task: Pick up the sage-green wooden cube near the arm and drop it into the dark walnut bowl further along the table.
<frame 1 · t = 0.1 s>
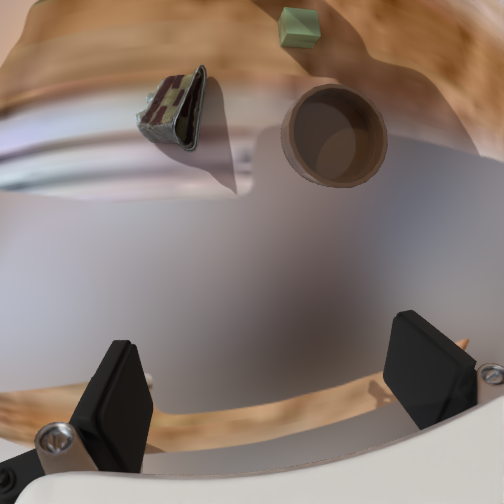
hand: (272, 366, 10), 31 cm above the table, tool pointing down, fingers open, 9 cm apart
bowl: (327, 138, 38), on the table
green cube: (294, 34, 34), on the table
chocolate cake: (173, 108, 35), on the table
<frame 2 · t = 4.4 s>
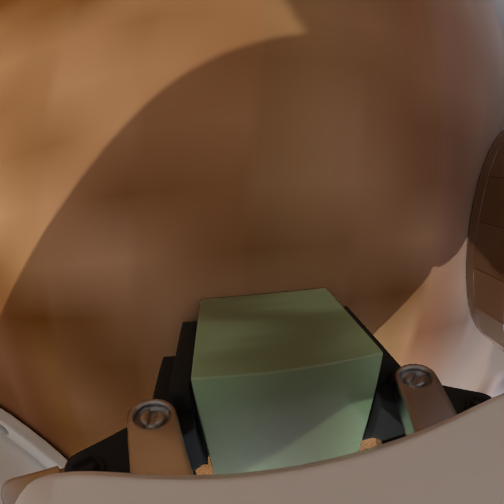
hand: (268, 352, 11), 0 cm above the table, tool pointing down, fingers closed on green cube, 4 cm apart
green cube: (266, 347, 11), on the table, touching gripper
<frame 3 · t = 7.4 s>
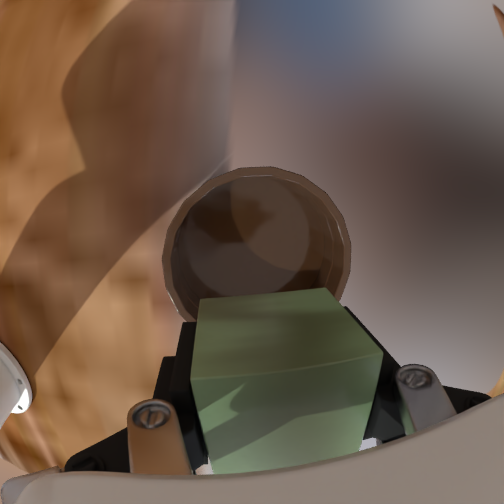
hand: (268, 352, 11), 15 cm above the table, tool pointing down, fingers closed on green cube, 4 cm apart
bowl: (252, 249, 25), on the table
green cube: (266, 347, 11), point 15 cm above the table, touching gripper
when the fingers open (3 cm above the table, at t = 10.4 s): green cube drops 2 cm, resting on bowl.
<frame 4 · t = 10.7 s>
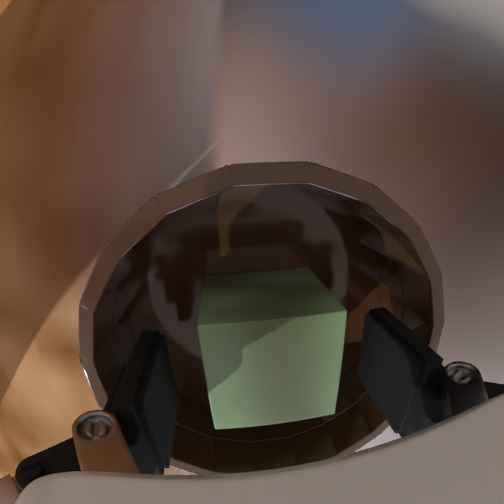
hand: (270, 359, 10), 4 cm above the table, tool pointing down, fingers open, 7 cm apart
bowl: (258, 312, 14), on the table
green cube: (259, 318, 13), point 1 cm above the table, touching bowl
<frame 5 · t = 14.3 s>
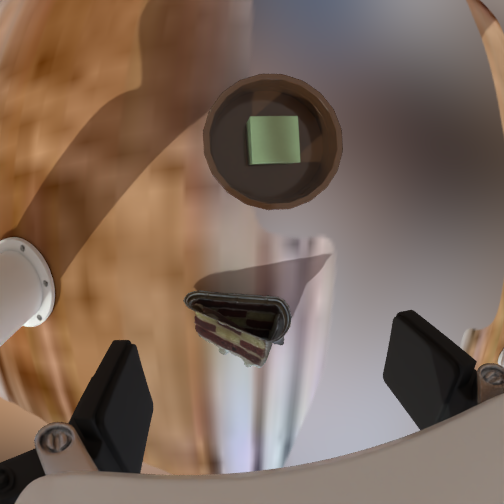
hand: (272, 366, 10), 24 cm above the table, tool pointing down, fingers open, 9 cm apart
bowl: (267, 144, 31), on the table
green cube: (268, 143, 31), point 1 cm above the table, touching bowl
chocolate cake: (233, 322, 36), on the table
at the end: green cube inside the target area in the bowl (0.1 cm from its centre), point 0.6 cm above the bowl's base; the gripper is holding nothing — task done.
